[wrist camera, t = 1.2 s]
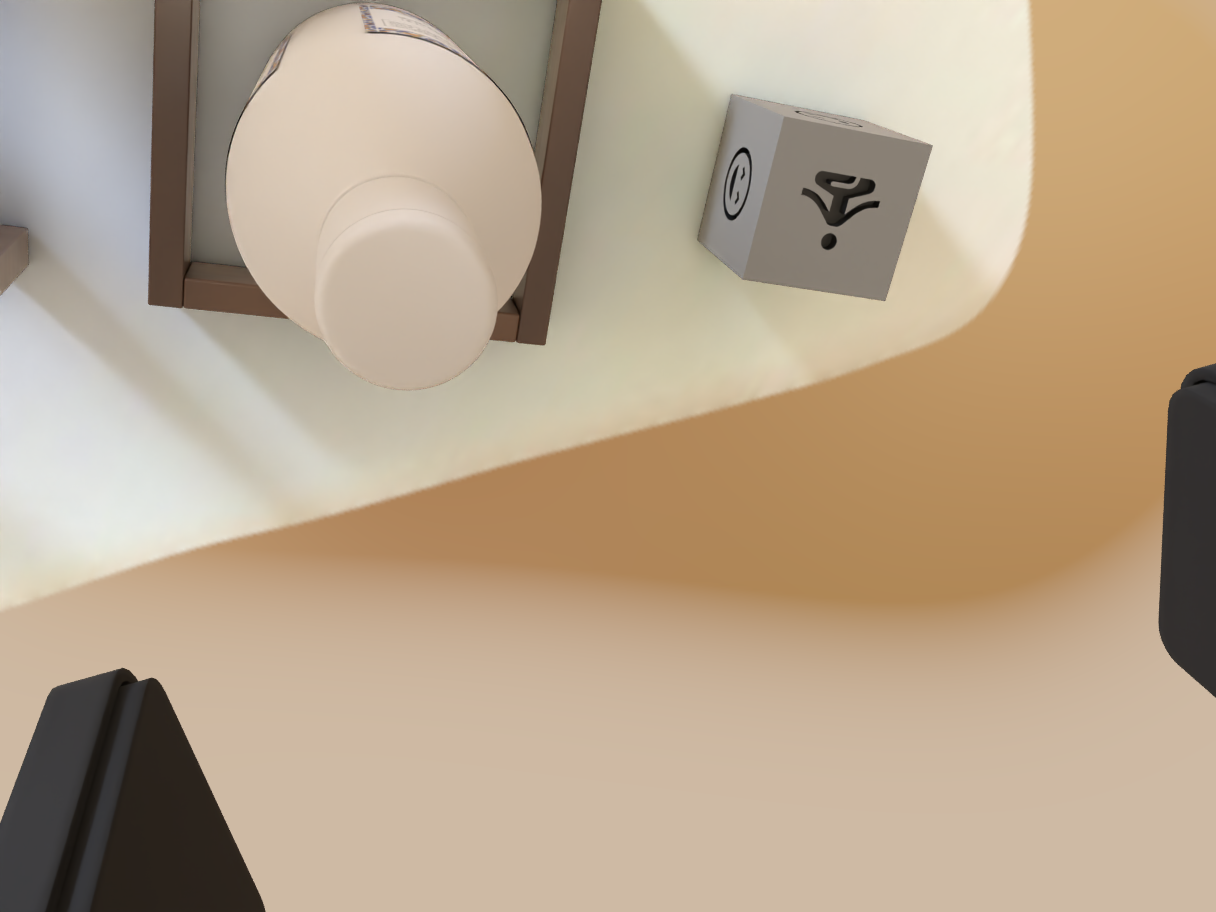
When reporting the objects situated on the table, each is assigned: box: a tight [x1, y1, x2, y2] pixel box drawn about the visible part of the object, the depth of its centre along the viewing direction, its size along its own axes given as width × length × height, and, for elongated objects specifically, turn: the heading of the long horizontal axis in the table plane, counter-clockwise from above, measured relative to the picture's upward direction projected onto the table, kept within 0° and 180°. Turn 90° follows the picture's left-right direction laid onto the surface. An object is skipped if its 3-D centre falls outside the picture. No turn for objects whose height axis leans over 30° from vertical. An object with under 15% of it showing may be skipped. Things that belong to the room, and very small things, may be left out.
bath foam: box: [225, 3, 542, 390], centre depth 27 cm, size 7×7×20 cm
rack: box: [0, 0, 602, 345], centre depth 29 cm, size 28×12×10 cm, turn 80°
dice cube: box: [698, 94, 933, 301], centre depth 37 cm, size 5×5×5 cm
